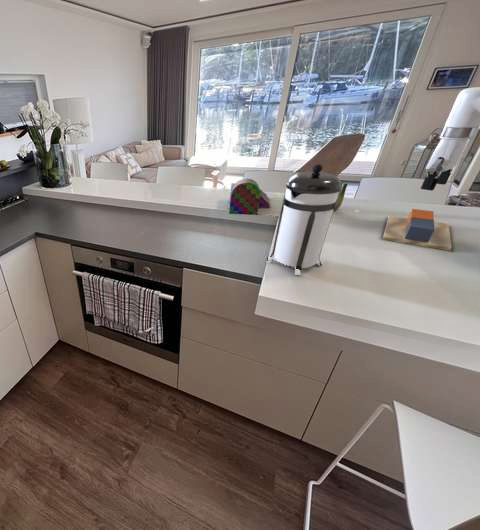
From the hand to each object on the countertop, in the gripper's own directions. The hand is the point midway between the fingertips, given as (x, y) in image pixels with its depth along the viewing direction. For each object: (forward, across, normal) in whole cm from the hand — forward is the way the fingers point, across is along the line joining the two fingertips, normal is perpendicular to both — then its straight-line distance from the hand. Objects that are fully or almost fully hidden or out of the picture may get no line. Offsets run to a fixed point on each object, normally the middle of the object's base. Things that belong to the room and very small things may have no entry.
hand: (433, 186), depth 99 cm
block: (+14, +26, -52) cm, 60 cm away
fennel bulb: (+14, +7, -26) cm, 30 cm away
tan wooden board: (+13, +10, +3) cm, 17 cm away
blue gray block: (+13, +15, +5) cm, 21 cm away
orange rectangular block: (+12, +6, +2) cm, 14 cm away
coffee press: (+14, +58, -9) cm, 61 cm away
